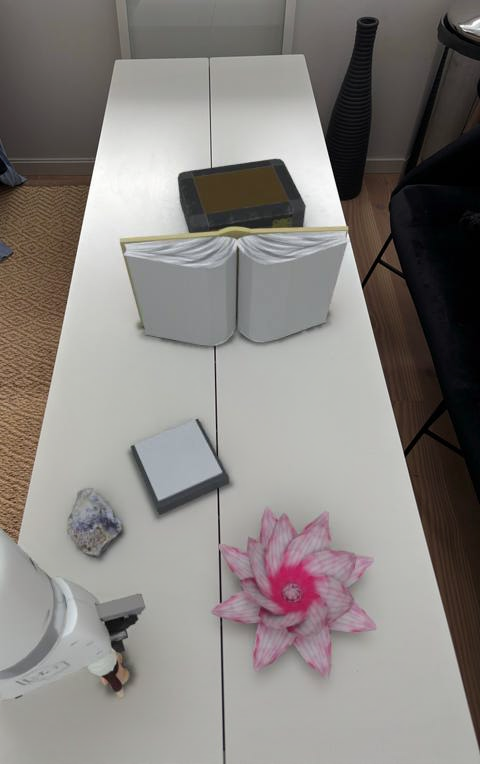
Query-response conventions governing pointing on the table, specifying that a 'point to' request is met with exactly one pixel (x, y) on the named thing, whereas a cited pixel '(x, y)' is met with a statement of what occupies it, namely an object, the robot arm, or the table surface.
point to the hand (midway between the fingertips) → (68, 657)
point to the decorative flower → (295, 590)
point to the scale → (179, 465)
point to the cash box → (241, 197)
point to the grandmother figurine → (111, 671)
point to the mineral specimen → (92, 522)
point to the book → (234, 281)
